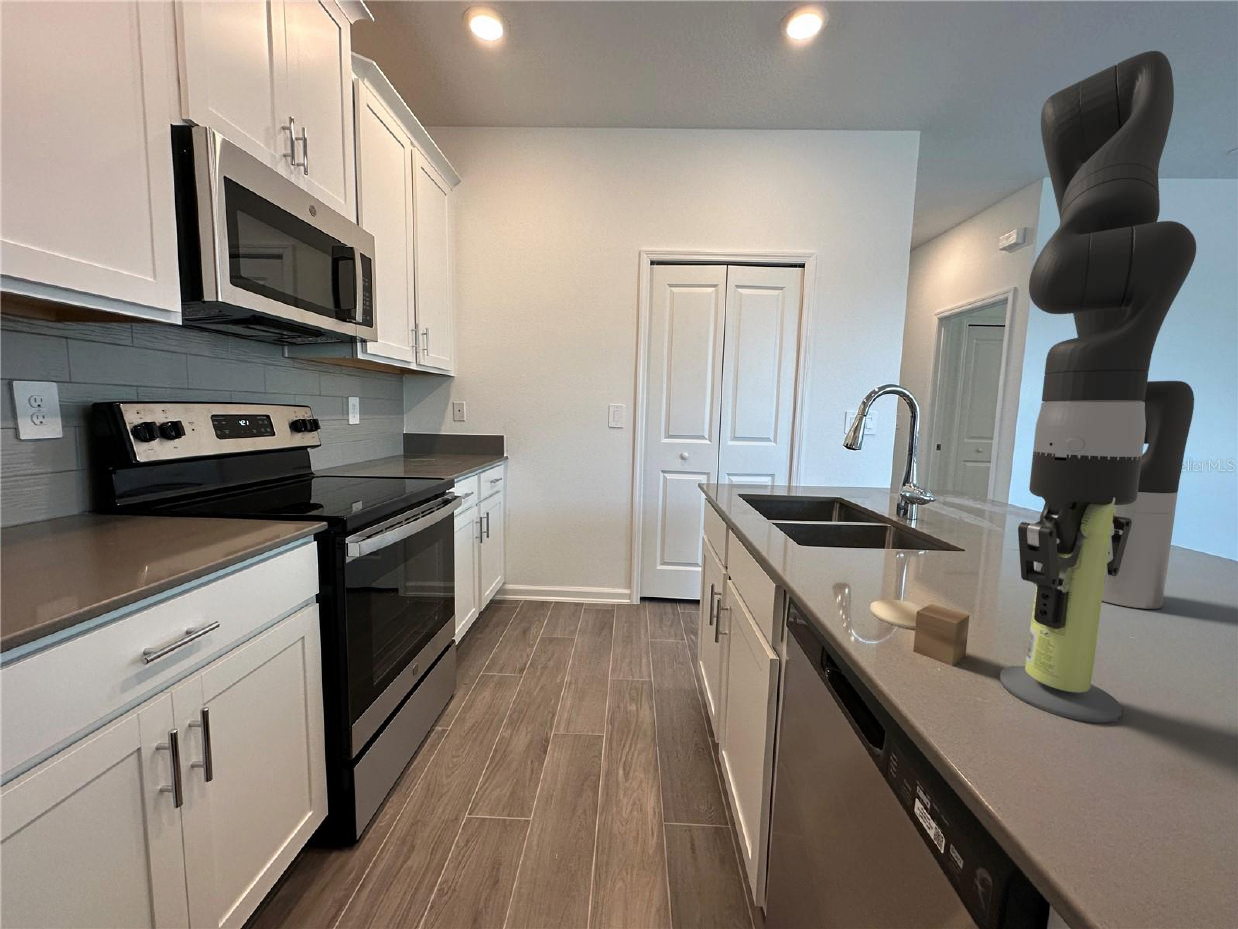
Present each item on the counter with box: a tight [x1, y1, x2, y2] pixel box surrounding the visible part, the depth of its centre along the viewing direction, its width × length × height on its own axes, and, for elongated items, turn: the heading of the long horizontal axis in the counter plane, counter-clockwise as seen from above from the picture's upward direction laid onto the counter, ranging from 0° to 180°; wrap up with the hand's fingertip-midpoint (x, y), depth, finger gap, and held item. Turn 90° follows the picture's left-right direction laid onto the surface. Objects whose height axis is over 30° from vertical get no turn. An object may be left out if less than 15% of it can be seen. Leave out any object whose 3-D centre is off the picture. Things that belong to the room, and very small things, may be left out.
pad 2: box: [999, 665, 1122, 724], centre depth 49 cm, size 9×9×1 cm
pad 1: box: [869, 599, 927, 631], centre depth 68 cm, size 9×9×1 cm
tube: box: [1024, 498, 1115, 693], centre depth 48 cm, size 6×5×20 cm
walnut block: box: [913, 603, 970, 667], centre depth 57 cm, size 4×4×5 cm
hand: (1065, 620), depth 48 cm, fingers closed on tube, 4 cm apart
